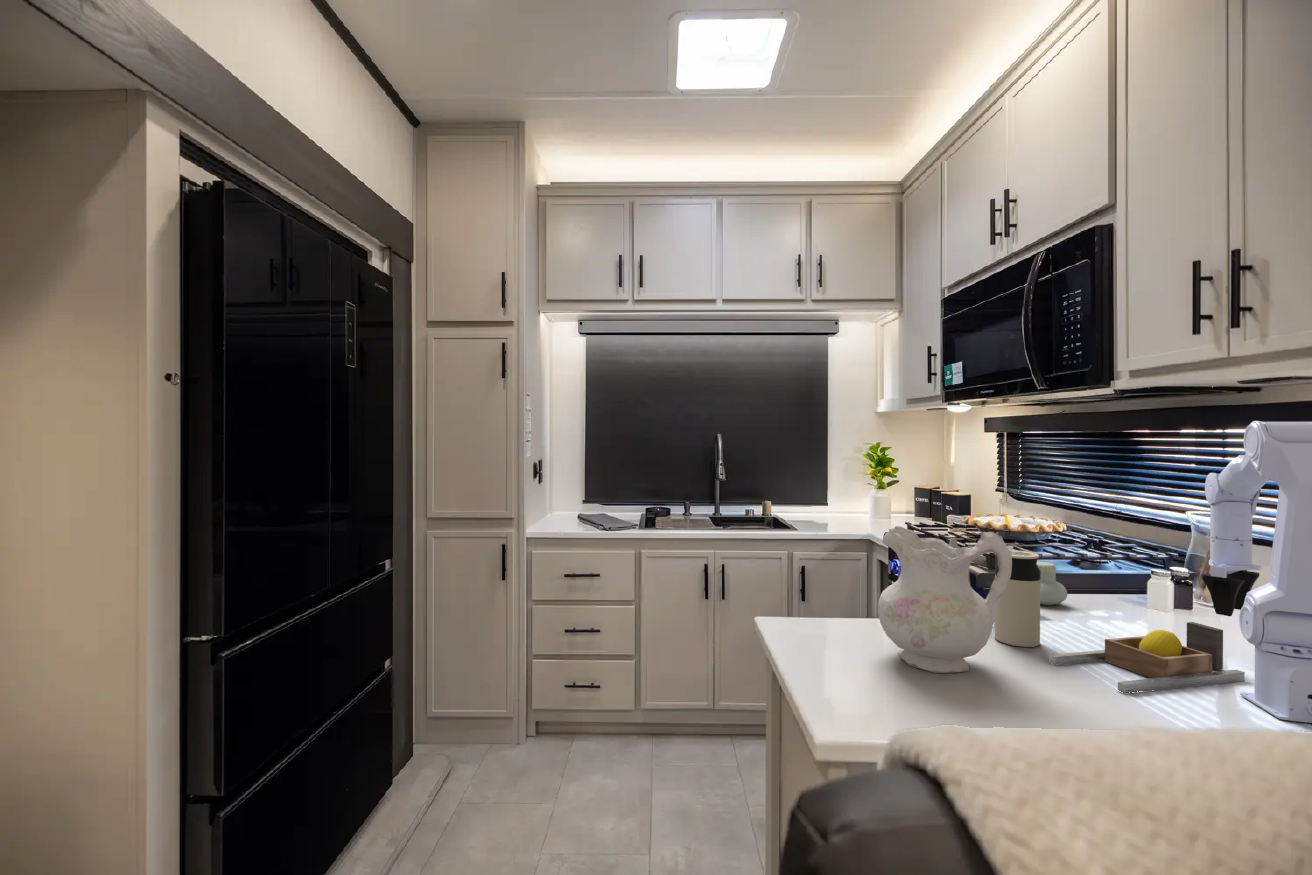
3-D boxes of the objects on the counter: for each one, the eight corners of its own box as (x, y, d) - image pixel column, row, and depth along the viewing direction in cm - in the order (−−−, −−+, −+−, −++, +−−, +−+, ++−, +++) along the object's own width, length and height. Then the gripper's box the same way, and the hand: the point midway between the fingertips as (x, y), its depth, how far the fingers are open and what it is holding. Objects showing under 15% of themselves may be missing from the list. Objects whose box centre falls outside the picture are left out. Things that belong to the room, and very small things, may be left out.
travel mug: (1029, 650, 119) (1029, 558, 119) (987, 639, 126) (987, 551, 126) (1046, 643, 124) (1047, 554, 124) (1005, 633, 130) (1006, 548, 131)
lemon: (1172, 677, 106) (1198, 645, 108) (1144, 652, 108) (1170, 620, 109) (1149, 676, 111) (1174, 645, 113) (1122, 652, 113) (1148, 622, 114)
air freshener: (1072, 608, 151) (1073, 567, 151) (1039, 608, 151) (1040, 567, 151) (1042, 597, 162) (1043, 559, 162) (1012, 597, 162) (1012, 559, 162)
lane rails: (1124, 694, 99) (1125, 684, 99) (1049, 662, 113) (1049, 654, 113) (1244, 680, 105) (1244, 672, 105) (1158, 652, 119) (1158, 645, 119)
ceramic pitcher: (993, 658, 118) (991, 527, 120) (1025, 689, 99) (1022, 534, 101) (874, 647, 124) (874, 523, 126) (883, 675, 105) (882, 528, 107)
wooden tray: (1164, 682, 103) (1164, 641, 103) (1104, 660, 114) (1104, 623, 114) (1242, 674, 108) (1243, 634, 108) (1178, 654, 118) (1178, 617, 118)
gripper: (1248, 545, 107) (1247, 623, 107) (1271, 538, 115) (1271, 611, 115) (1196, 539, 113) (1195, 613, 113) (1221, 533, 121) (1221, 602, 121)
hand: (1230, 611), depth 114 cm, fingers open, 7 cm apart
